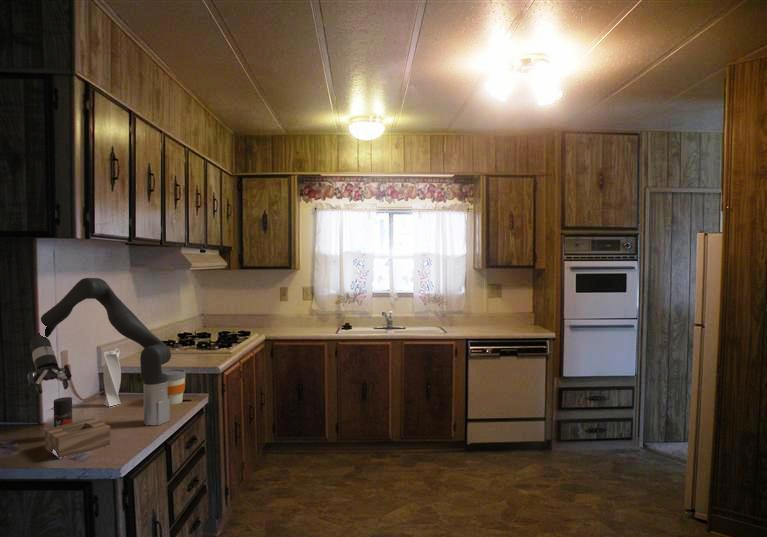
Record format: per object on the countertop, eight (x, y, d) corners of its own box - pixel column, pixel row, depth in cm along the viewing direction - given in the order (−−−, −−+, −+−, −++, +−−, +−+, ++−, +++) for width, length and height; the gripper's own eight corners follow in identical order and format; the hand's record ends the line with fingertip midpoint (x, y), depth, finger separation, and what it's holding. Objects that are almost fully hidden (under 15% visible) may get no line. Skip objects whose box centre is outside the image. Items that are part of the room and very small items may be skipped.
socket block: (110, 444, 165) (109, 426, 165) (59, 459, 152) (58, 439, 152) (93, 435, 175) (93, 417, 175) (44, 448, 162) (44, 429, 162)
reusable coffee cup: (167, 407, 210) (167, 376, 211) (153, 403, 217) (152, 373, 217) (191, 400, 221) (191, 371, 221) (176, 397, 228) (176, 368, 228)
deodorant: (51, 441, 169) (51, 402, 170) (56, 435, 175) (56, 398, 175) (70, 438, 172) (70, 400, 172) (74, 433, 177) (73, 396, 177)
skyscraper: (125, 404, 217) (124, 347, 217) (109, 408, 210) (108, 350, 210) (116, 402, 221) (115, 346, 221) (100, 406, 214) (99, 348, 214)
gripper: (25, 356, 180) (34, 388, 173) (66, 351, 192) (76, 381, 184) (22, 368, 184) (30, 400, 176) (62, 362, 195) (72, 392, 188)
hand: (53, 390), depth 180 cm, fingers open, 8 cm apart
